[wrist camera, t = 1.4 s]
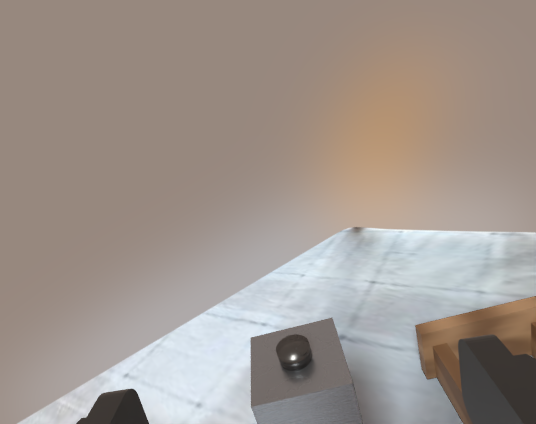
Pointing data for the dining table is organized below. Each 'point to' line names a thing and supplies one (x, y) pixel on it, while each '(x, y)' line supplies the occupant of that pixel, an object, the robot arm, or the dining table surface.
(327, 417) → the brushed steel pillar
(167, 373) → the dining table surface
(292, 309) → the dining table surface
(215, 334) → the dining table surface
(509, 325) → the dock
